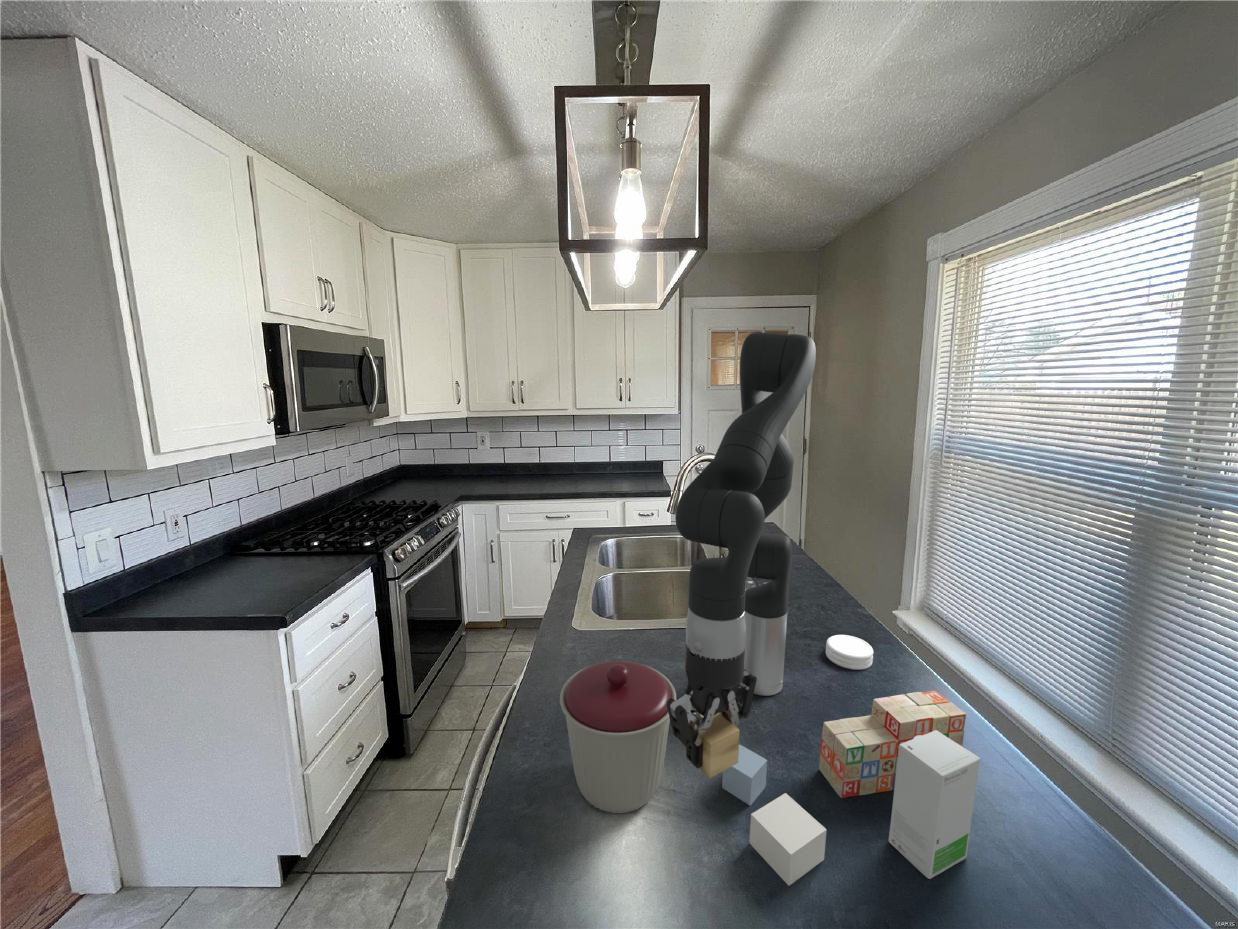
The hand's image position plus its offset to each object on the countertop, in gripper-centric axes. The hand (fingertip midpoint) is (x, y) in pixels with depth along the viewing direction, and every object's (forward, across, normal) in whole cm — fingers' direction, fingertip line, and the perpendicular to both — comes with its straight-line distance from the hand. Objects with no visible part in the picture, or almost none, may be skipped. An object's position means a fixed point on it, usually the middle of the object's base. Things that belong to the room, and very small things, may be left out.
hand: (711, 754), depth 68 cm
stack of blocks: (+15, -34, +6) cm, 38 cm away
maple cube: (0, 0, 0) cm, 0 cm away
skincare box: (+15, -26, +16) cm, 34 cm away
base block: (+15, -9, +6) cm, 19 cm away
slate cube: (+15, -12, -5) cm, 20 cm away
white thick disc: (+16, -60, -19) cm, 65 cm away
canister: (+15, +5, -16) cm, 23 cm away
